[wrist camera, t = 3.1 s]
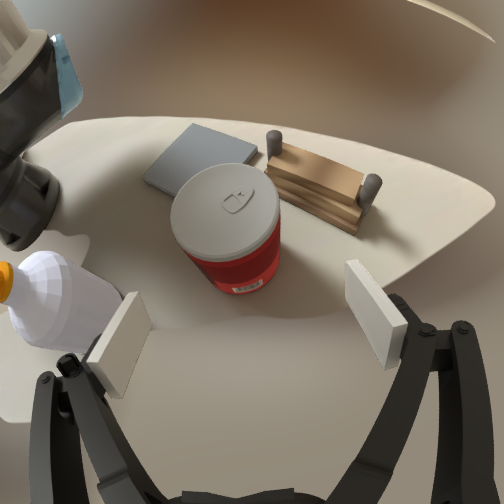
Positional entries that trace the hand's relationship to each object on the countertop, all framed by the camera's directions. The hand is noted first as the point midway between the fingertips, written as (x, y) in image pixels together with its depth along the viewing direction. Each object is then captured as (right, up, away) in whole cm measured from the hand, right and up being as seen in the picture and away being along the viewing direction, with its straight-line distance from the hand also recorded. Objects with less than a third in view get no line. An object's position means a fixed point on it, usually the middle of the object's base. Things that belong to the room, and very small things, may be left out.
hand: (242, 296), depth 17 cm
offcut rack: (+8, +9, +14) cm, 19 cm away
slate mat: (-6, +14, +18) cm, 23 cm away
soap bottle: (-18, -5, +11) cm, 22 cm away
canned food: (0, +2, +12) cm, 13 cm away
